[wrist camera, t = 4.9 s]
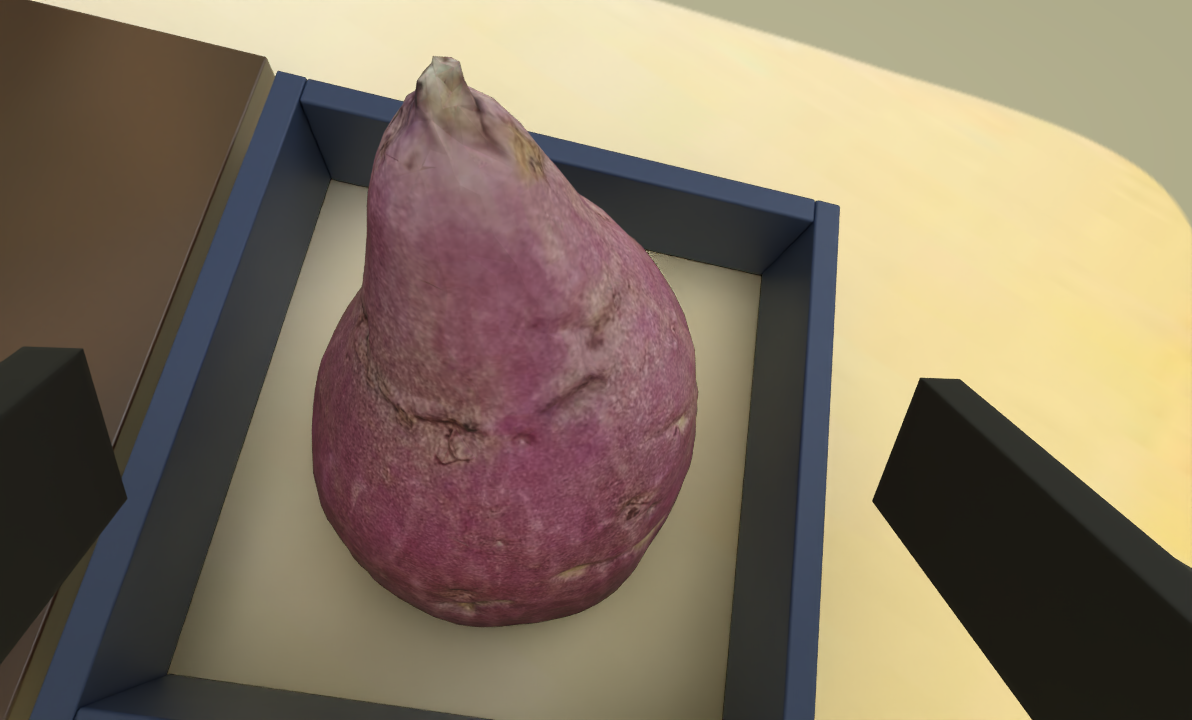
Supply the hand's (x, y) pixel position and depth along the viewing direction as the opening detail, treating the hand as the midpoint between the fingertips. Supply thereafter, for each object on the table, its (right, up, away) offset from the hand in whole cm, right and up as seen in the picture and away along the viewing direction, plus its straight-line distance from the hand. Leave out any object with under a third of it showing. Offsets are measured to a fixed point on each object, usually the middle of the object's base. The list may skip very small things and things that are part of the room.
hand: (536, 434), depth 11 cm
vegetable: (-2, -1, +9) cm, 10 cm away
